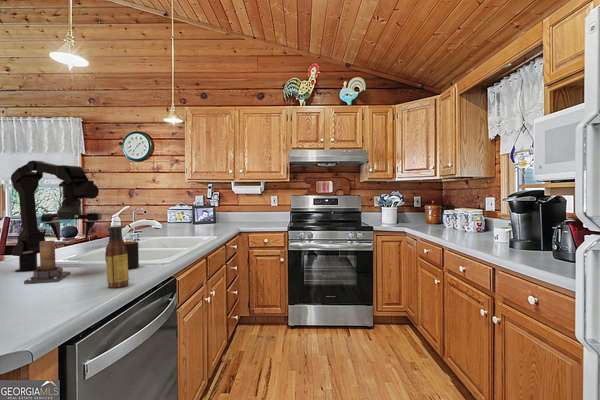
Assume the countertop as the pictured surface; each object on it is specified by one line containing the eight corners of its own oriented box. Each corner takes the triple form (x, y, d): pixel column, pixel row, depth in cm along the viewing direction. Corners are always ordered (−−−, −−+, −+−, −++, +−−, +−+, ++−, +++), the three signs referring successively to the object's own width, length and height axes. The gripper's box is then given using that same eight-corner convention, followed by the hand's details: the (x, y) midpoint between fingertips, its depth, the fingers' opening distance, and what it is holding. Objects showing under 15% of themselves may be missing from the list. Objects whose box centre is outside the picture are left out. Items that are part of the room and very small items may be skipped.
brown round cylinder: (45, 274, 126) (44, 240, 126) (58, 274, 126) (57, 240, 126) (37, 277, 122) (36, 242, 121) (51, 277, 122) (50, 242, 122)
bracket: (39, 276, 128) (39, 266, 128) (70, 274, 131) (70, 264, 131) (23, 284, 117) (23, 273, 117) (58, 281, 120) (58, 271, 120)
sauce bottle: (132, 283, 117) (131, 225, 117) (123, 288, 111) (122, 226, 111) (112, 283, 117) (111, 225, 117) (102, 288, 111) (101, 227, 111)
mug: (105, 268, 141) (104, 243, 141) (137, 265, 147) (137, 240, 147) (106, 272, 134) (105, 245, 134) (139, 268, 140) (139, 243, 140)
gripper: (33, 199, 120) (34, 244, 121) (93, 198, 126) (94, 241, 126) (46, 199, 131) (47, 239, 131) (101, 198, 136) (102, 237, 137)
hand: (72, 239), depth 131 cm, fingers open, 9 cm apart
